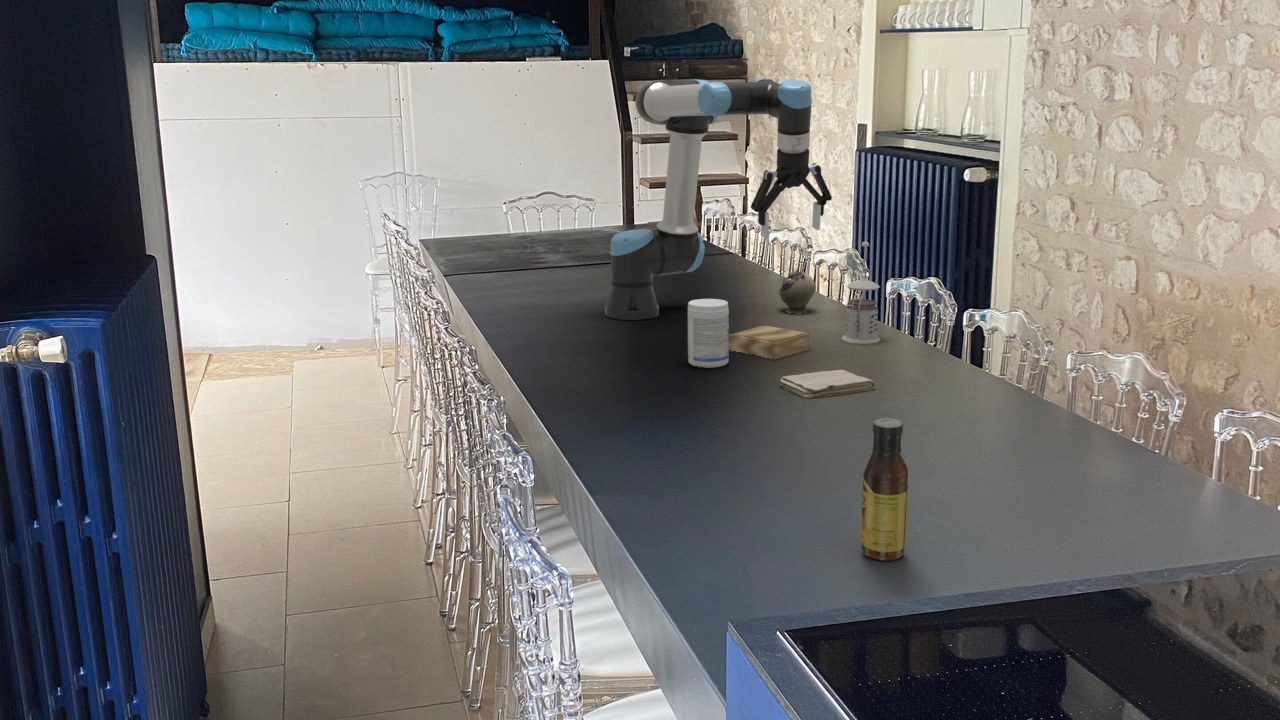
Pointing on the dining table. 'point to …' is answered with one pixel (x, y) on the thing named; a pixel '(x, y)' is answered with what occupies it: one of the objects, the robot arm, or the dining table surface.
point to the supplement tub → (708, 333)
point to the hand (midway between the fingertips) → (790, 232)
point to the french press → (861, 313)
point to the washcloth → (826, 383)
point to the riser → (769, 342)
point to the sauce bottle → (885, 494)
